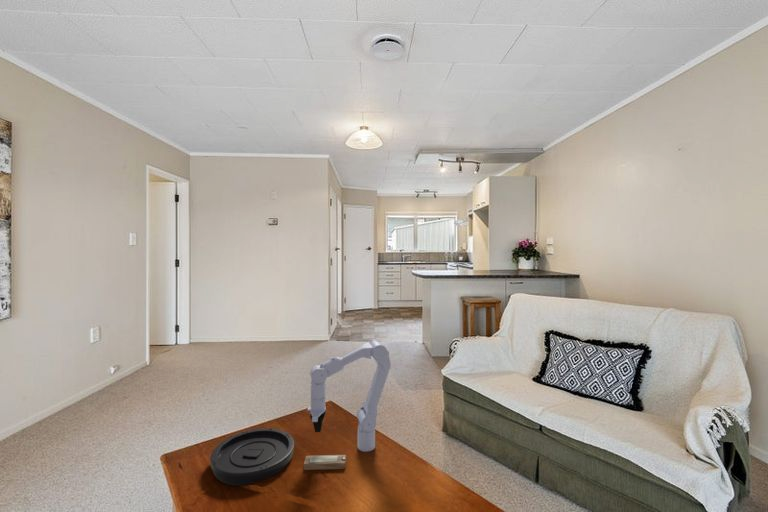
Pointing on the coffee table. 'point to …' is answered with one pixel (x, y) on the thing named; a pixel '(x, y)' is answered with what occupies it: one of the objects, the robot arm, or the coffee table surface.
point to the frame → (325, 462)
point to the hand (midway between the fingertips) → (318, 431)
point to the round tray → (251, 456)
